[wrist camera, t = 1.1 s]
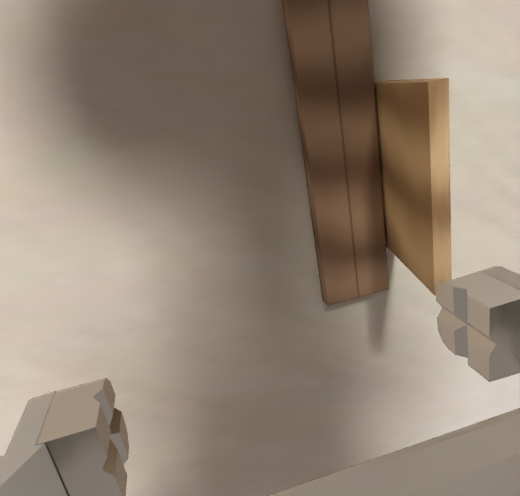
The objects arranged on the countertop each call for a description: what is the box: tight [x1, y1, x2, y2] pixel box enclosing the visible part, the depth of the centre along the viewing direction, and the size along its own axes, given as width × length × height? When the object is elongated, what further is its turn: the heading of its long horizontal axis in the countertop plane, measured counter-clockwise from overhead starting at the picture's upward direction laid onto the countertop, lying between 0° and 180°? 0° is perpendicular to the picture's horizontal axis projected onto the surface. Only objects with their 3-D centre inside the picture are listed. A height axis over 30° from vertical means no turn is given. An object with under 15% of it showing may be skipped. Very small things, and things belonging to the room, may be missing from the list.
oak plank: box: [374, 78, 452, 295], centre depth 32 cm, size 14×10×1 cm
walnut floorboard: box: [283, 0, 389, 306], centre depth 36 cm, size 25×6×1 cm, turn 10°
